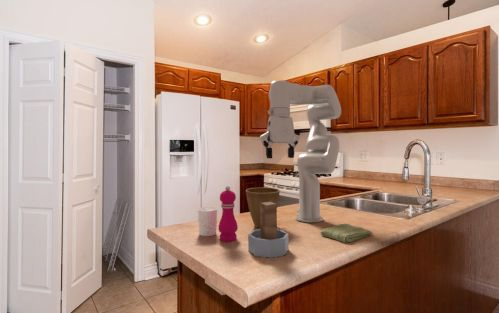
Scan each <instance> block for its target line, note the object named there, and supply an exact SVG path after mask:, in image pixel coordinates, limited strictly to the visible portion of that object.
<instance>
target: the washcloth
mask: <svg viewBox="0 0 499 313" xmlns="http://www.w3.org/2000/svg"><path fill="white" fill-rule="evenodd" d="M320 235H321V236H322V237H326V238H328V239H332V240H336V241H337V242H341V243H344V244H348V243H351V242H355V241H358V240H360V239H363V238H365V237H369V236H371V235H373V232H372V231H371V230H370V229H367V228H363V227H360V226H359V225H358V226H356V225H352V224H350V223H341V224H338V225H337V224H336V225H334V226H330V227H326V228H325V227H324V228H323V229H321V231H320Z"/></svg>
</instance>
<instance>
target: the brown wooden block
mask: <svg viewBox="0 0 499 313" xmlns="http://www.w3.org/2000/svg"><path fill="white" fill-rule="evenodd" d="M277 214H278V205H277V204H275V203H272V202H265V203H260V228H259V229H260V235H261V239H267V240H273V239H277V229H278V224H277V223H278V215H277Z"/></svg>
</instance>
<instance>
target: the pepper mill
mask: <svg viewBox="0 0 499 313" xmlns="http://www.w3.org/2000/svg"><path fill="white" fill-rule="evenodd" d="M224 189H225V190H223V191H222V192H221V193H220V195H219V200H220V202H221V203H220V207H221V208H222V213H221V217H220V220H219V224H218V231H219V233H220V234H219V240H220V241H221V242H225V243H228V242H229V243H231V242H234V240H235V241H236V240H237V231H238V228H239V227H238V222H237V220H236V218H235V214H234V213H235V212H234V208H235V201H236V193H235V192H234V191H232V190H231V186H228V185H227V186H225V188H224ZM230 241H231V242H230Z"/></svg>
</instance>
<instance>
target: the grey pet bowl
mask: <svg viewBox="0 0 499 313" xmlns="http://www.w3.org/2000/svg"><path fill="white" fill-rule="evenodd" d="M247 235H248V240H247V241H248V252H249V251H250V253H251V254H252V253H253V254H254V255H253V254H252V255H253V256H254V257H258V256H261V257H260V258H266V257H269V258H268V259H273V257H274V258H279V257H284V256H283V255H285V254H286V255H287V253H288V252H287V251H289V247H290V244H289V236H290V235H289V233H288V232H286V231H284V230H283V229H279V228H277V239H273V240H267V239H261V235H260V228H258V229H253V230H252V231H251V232H250V233H248V234H247ZM286 255H285V256H286ZM278 256H279V257H278Z"/></svg>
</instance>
